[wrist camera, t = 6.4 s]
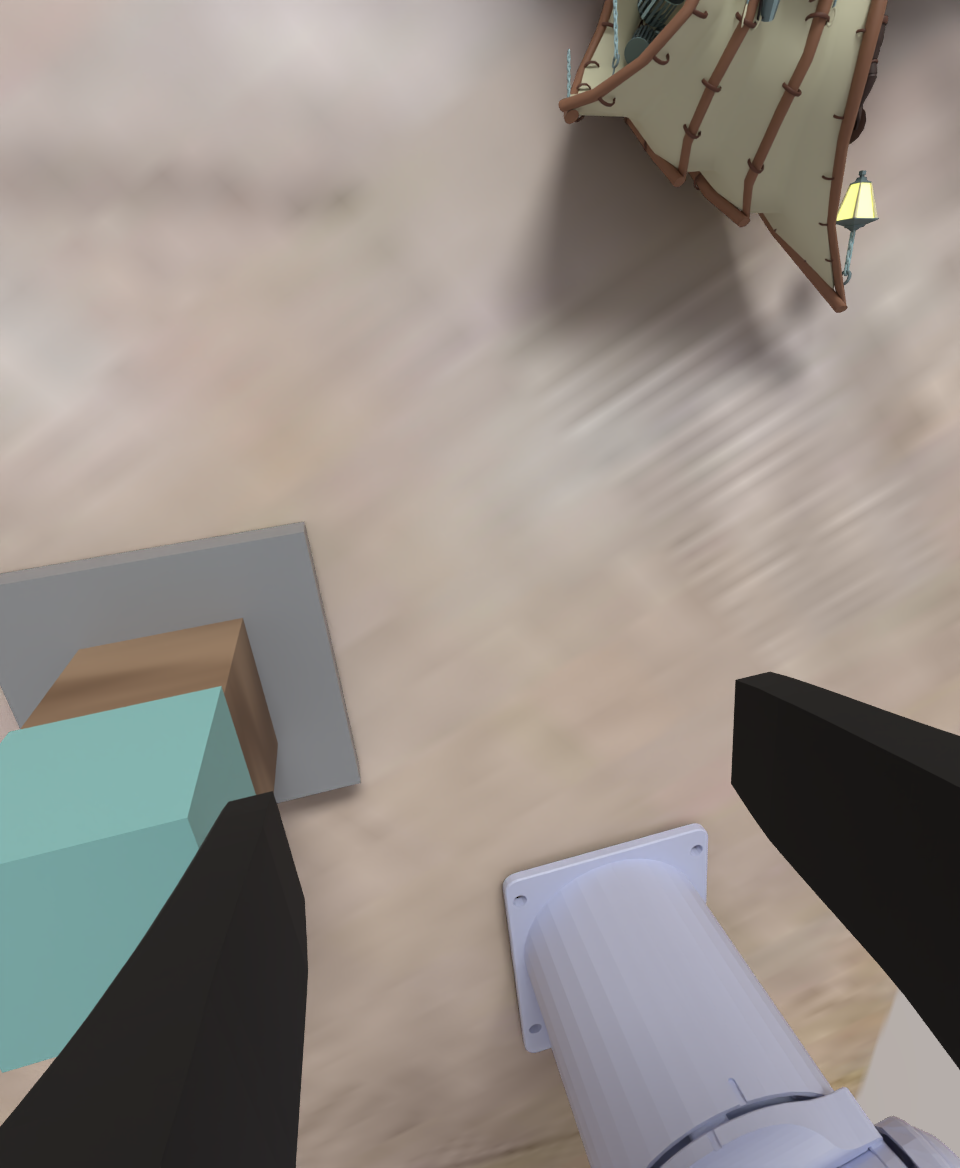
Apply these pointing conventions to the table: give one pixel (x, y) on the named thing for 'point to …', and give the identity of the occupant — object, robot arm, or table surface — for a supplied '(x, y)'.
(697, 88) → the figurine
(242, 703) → the walnut block
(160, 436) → the table surface
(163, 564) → the base plate
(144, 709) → the teal block
